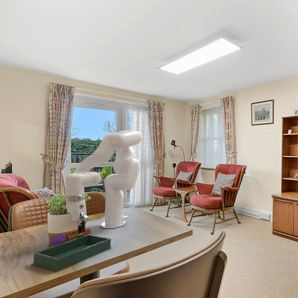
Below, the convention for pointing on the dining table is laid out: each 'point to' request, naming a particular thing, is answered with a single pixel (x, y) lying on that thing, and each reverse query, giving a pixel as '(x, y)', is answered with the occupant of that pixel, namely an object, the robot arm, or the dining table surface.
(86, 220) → the robot arm
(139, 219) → the dining table surface
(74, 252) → the tray
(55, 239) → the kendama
